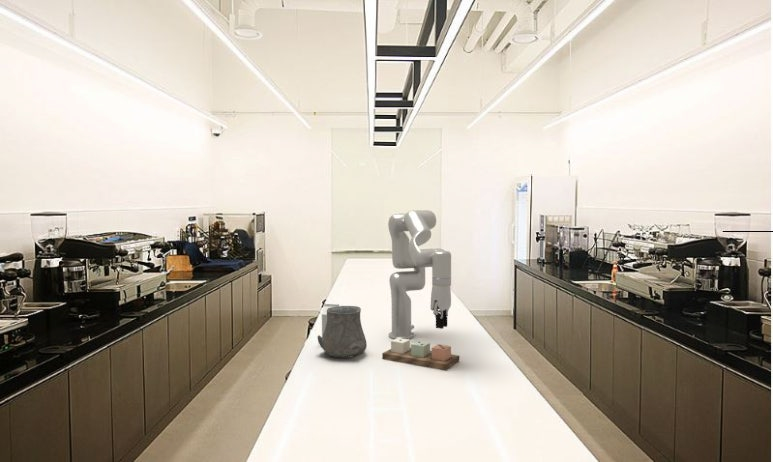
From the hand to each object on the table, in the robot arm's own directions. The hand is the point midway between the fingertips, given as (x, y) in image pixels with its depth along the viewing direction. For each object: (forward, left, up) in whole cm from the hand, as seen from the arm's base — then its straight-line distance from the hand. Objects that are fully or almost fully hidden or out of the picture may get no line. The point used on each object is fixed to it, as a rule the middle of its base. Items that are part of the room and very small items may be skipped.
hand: (441, 326), depth 202 cm
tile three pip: (0, 0, -13) cm, 13 cm away
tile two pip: (0, -10, -13) cm, 16 cm away
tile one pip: (0, -19, -13) cm, 23 cm away
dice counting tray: (0, -10, -15) cm, 18 cm away
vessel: (+10, -41, -15) cm, 44 cm away
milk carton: (+1, -55, -15) cm, 57 cm away
